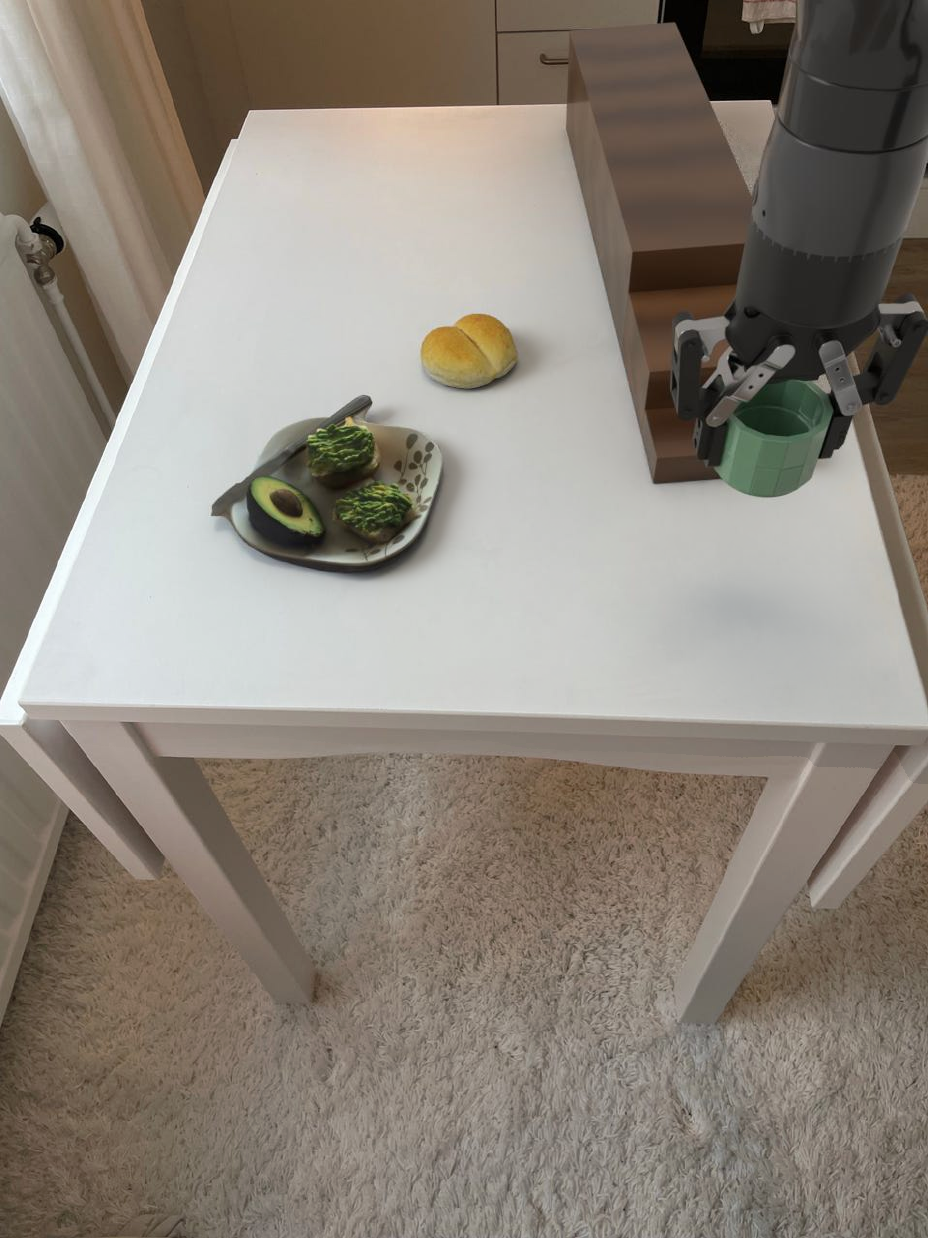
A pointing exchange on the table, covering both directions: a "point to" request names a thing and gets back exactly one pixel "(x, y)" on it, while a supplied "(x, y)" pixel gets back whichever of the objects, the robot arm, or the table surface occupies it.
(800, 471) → the cup
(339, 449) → the salad plate
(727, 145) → the wooden stair steps
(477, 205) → the table surface
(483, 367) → the bread roll
